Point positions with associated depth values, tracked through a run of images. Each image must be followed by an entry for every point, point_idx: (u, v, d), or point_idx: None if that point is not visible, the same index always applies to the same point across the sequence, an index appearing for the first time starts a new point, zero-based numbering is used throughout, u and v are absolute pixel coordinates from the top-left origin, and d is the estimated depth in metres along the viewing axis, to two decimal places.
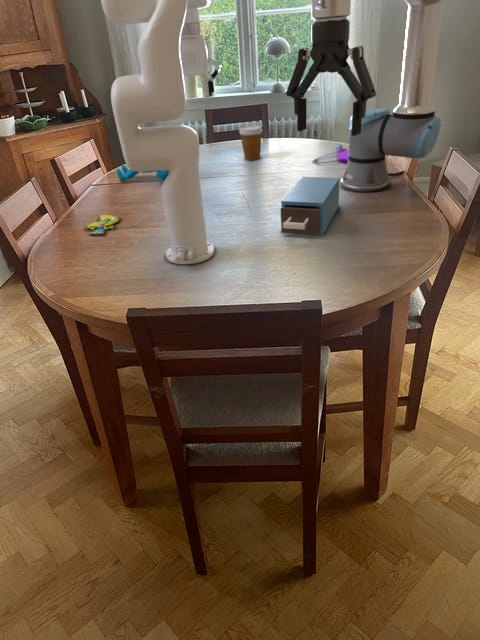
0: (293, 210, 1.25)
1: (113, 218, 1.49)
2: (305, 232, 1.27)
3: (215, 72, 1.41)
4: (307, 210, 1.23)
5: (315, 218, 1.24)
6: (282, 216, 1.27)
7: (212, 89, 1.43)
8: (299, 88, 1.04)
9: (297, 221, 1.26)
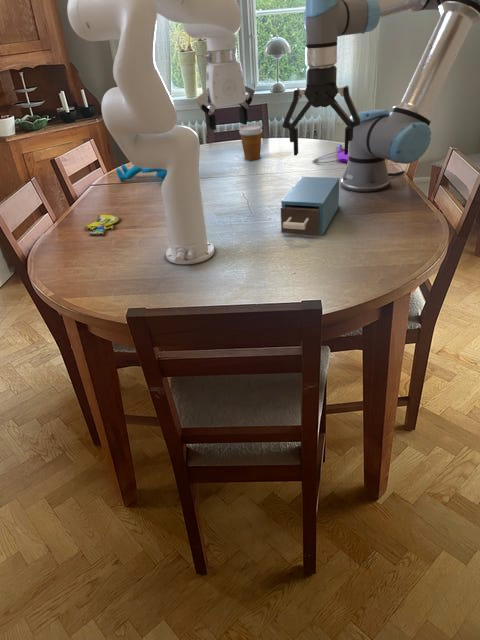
0: (293, 210, 1.25)
1: (113, 218, 1.49)
2: (305, 232, 1.27)
3: (250, 99, 1.33)
4: (307, 210, 1.23)
5: (315, 218, 1.24)
6: (282, 216, 1.27)
7: None
8: None
9: (297, 221, 1.26)
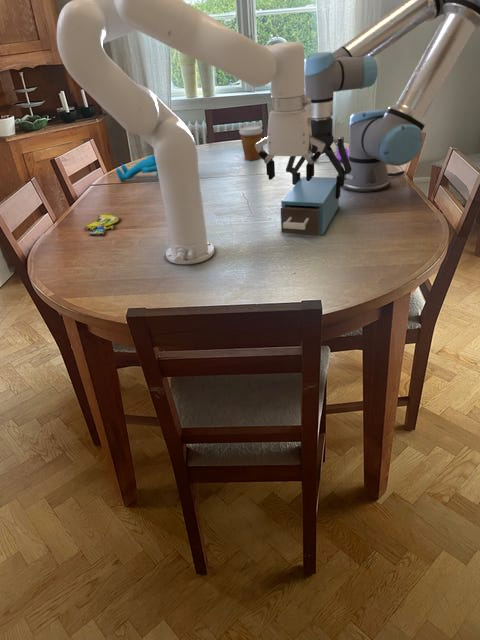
0: (293, 210, 1.25)
1: (113, 218, 1.49)
2: (305, 232, 1.27)
3: None
4: (307, 210, 1.23)
5: (315, 218, 1.24)
6: (282, 216, 1.27)
7: None
8: None
9: (297, 221, 1.26)
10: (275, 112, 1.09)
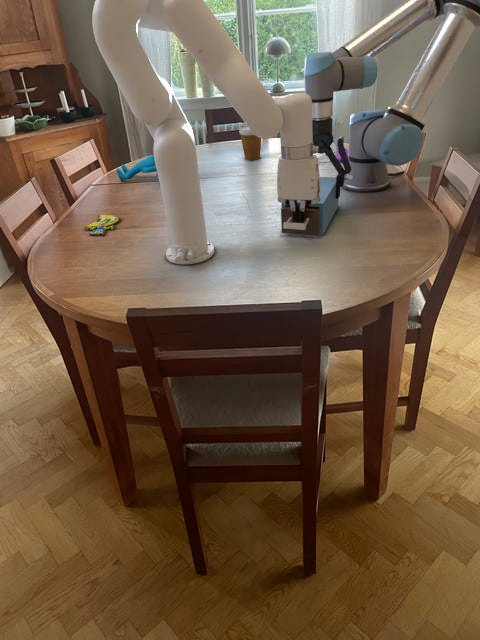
0: None
1: (113, 218, 1.49)
2: (305, 232, 1.27)
3: None
4: (307, 210, 1.23)
5: (315, 218, 1.24)
6: (282, 216, 1.27)
7: None
8: None
9: None
10: (284, 160, 1.12)
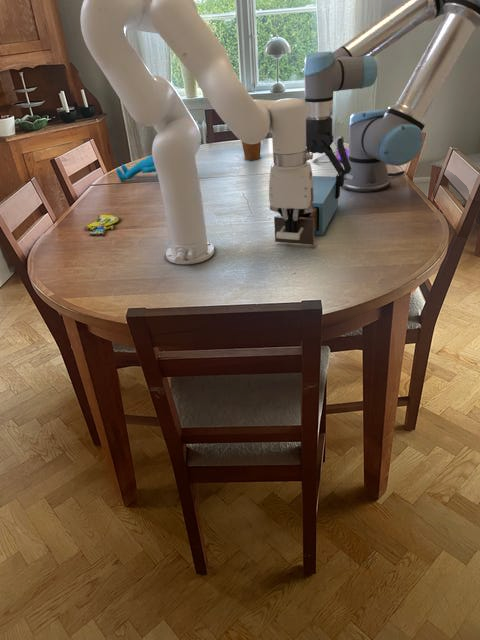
0: None
1: (113, 218, 1.49)
2: (300, 241, 1.22)
3: None
4: (301, 219, 1.19)
5: (310, 227, 1.19)
6: (276, 225, 1.22)
7: None
8: None
9: None
10: (277, 167, 1.08)
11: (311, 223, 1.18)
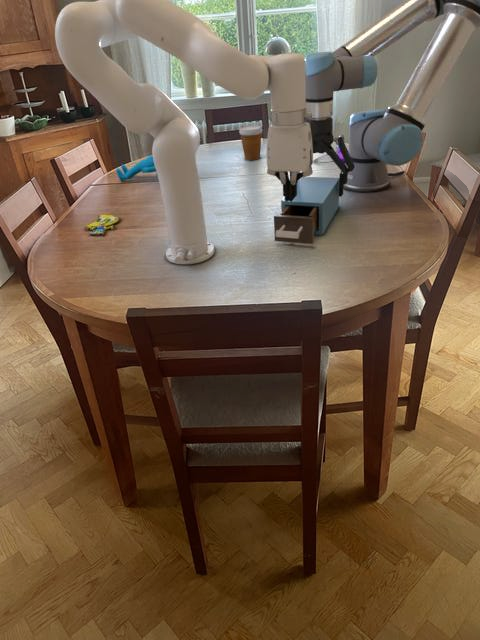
0: (287, 218, 1.20)
1: (113, 218, 1.49)
2: (299, 241, 1.22)
3: None
4: (301, 218, 1.19)
5: (309, 226, 1.19)
6: (275, 224, 1.22)
7: None
8: None
9: (291, 229, 1.22)
10: (275, 126, 1.04)
11: (310, 222, 1.19)
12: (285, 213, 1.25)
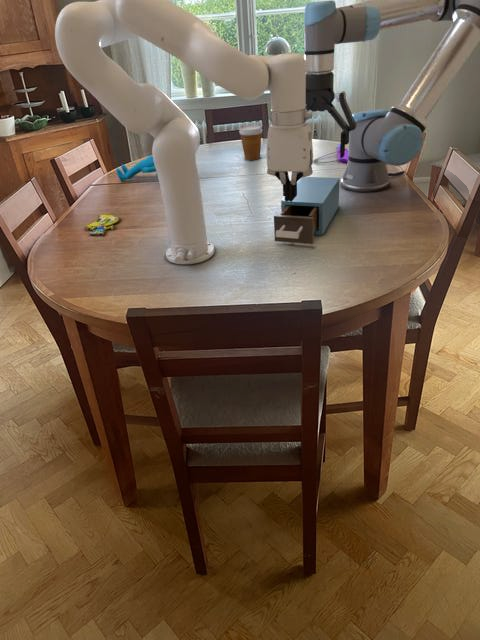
0: (286, 218, 1.20)
1: (113, 218, 1.49)
2: (299, 241, 1.22)
3: None
4: (301, 218, 1.19)
5: (309, 226, 1.19)
6: (275, 224, 1.22)
7: None
8: None
9: (291, 229, 1.22)
10: (275, 126, 1.04)
11: (310, 222, 1.19)
12: (285, 213, 1.25)
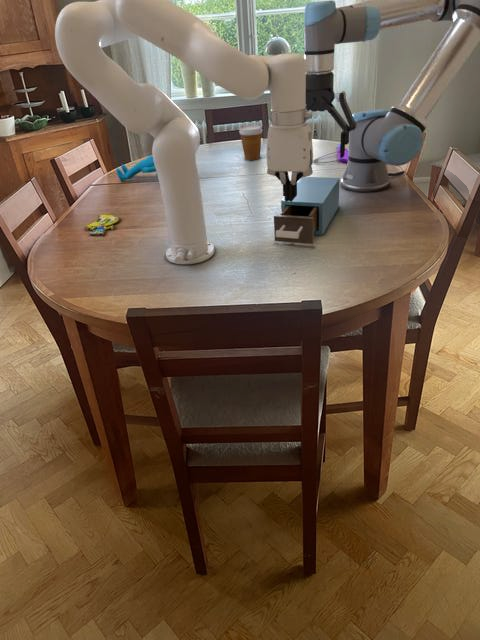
0: (286, 218, 1.20)
1: (113, 218, 1.49)
2: (299, 241, 1.22)
3: None
4: (301, 218, 1.19)
5: (309, 226, 1.19)
6: (275, 224, 1.22)
7: None
8: None
9: (291, 229, 1.22)
10: (275, 126, 1.04)
11: (310, 222, 1.19)
12: (285, 213, 1.25)
